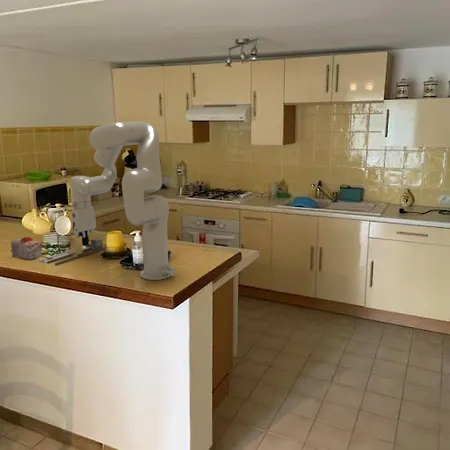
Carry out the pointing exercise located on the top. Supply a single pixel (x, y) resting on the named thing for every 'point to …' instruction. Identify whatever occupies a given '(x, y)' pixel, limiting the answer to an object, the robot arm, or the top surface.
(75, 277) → the top surface
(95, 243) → the grey slide rail
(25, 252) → the food item
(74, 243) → the sliding head
